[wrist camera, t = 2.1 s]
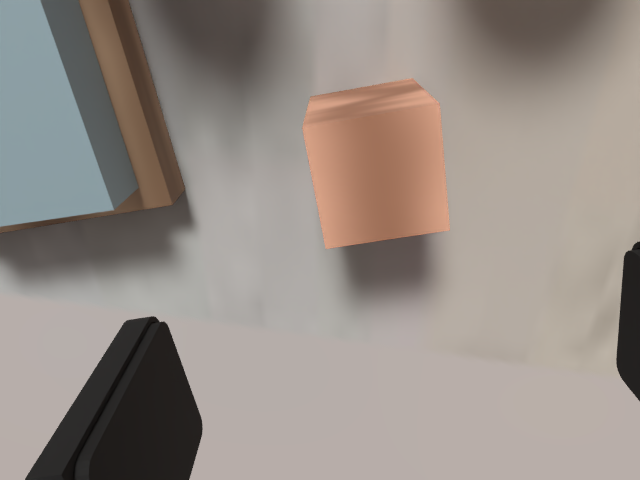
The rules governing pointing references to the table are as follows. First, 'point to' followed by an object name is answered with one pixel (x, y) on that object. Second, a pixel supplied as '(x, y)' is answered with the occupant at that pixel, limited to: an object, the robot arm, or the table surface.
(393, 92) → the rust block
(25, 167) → the top block
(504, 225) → the table surface
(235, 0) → the table surface
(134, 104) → the base block
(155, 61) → the table surface
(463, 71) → the table surface
